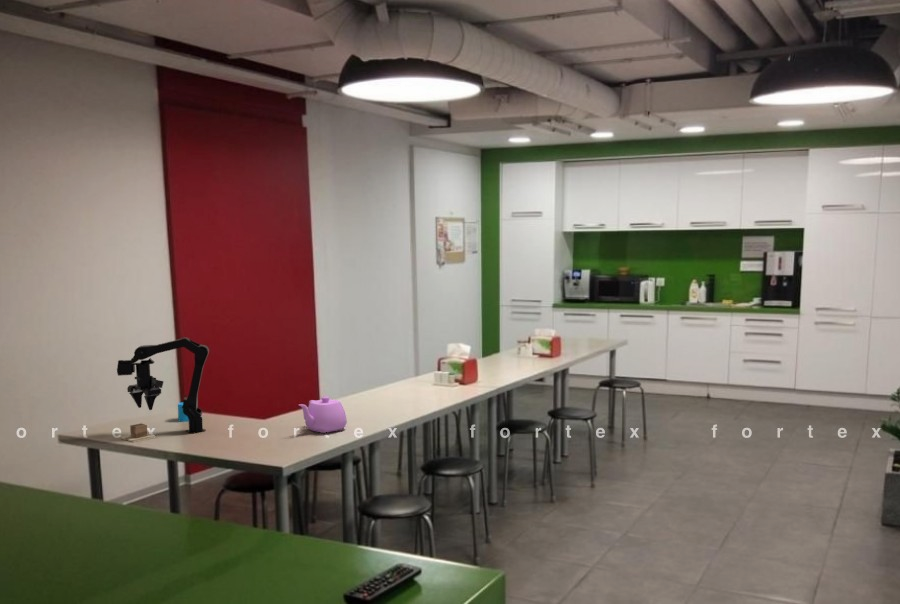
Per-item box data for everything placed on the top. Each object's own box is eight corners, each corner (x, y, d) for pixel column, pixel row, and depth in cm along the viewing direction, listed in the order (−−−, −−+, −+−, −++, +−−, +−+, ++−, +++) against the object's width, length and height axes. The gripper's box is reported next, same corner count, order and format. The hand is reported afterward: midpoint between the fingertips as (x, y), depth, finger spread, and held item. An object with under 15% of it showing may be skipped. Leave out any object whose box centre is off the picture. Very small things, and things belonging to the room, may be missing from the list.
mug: (189, 422, 344) (189, 405, 344) (174, 421, 346) (174, 404, 345) (204, 416, 356) (203, 400, 355) (189, 416, 358) (188, 399, 357)
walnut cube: (147, 436, 314) (146, 424, 314) (136, 438, 310) (135, 427, 310) (141, 434, 317) (141, 423, 317) (130, 436, 314) (130, 425, 313)
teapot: (325, 422, 339) (324, 390, 338) (352, 429, 324) (351, 396, 323) (283, 431, 323) (282, 398, 322) (310, 439, 308) (309, 404, 307)
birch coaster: (155, 437, 315) (155, 435, 315) (133, 442, 307) (133, 440, 307) (144, 434, 321) (144, 432, 321) (122, 438, 313) (122, 437, 313)
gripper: (171, 373, 319) (173, 407, 320) (149, 370, 330) (151, 403, 331) (147, 377, 310) (149, 412, 311) (125, 373, 321) (127, 407, 322)
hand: (145, 408), depth 319 cm, fingers open, 9 cm apart
